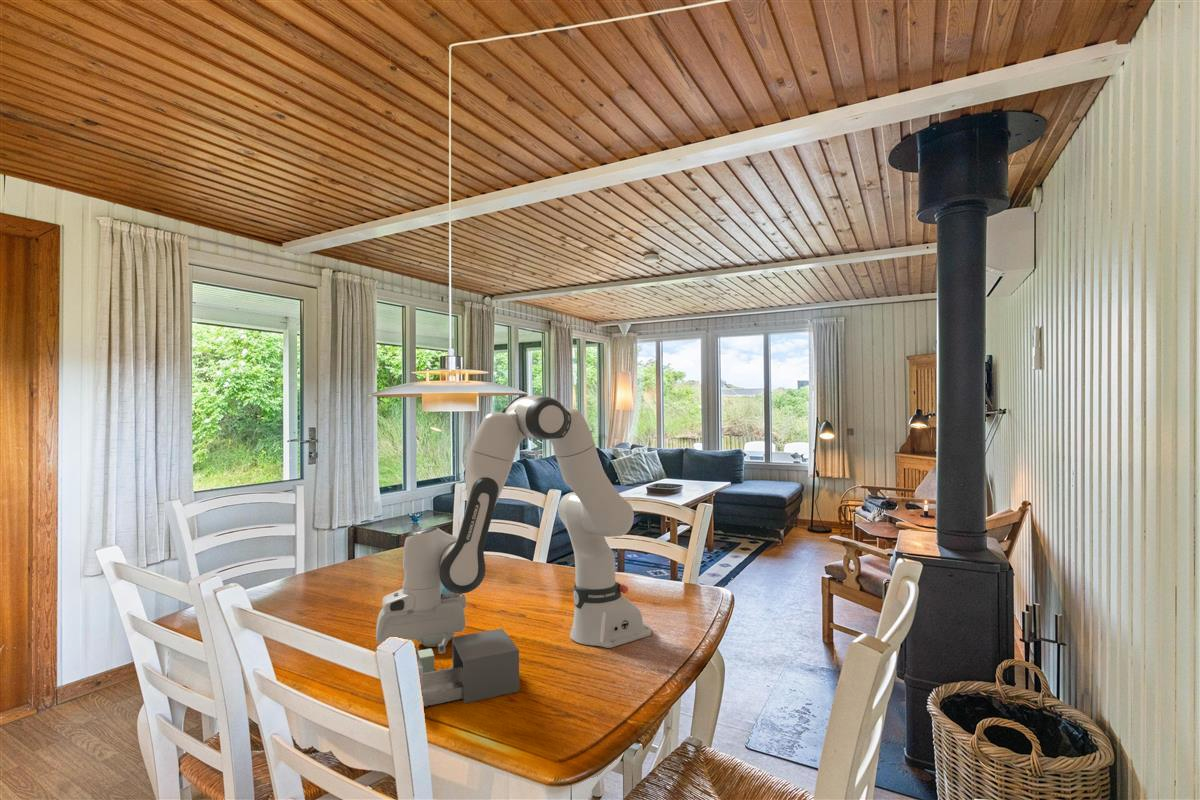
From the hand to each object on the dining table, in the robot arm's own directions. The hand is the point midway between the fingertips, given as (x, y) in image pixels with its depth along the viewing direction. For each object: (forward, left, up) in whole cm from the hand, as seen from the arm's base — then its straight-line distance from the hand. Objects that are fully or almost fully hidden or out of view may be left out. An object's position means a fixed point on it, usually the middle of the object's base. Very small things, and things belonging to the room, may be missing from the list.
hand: (421, 655), depth 133 cm
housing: (-12, +12, -4) cm, 18 cm away
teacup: (-4, -16, -4) cm, 17 cm away
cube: (0, 0, -4) cm, 4 cm away
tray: (-3, +12, -4) cm, 13 cm away
